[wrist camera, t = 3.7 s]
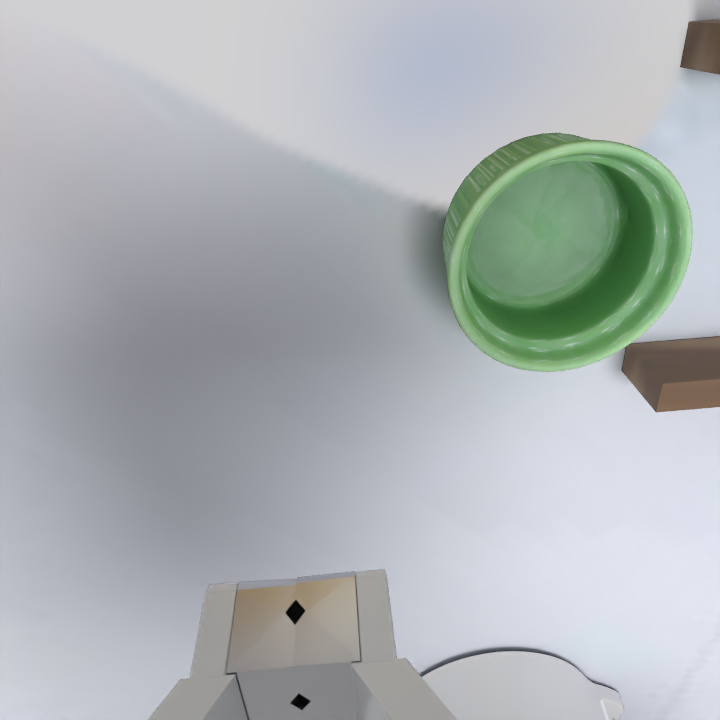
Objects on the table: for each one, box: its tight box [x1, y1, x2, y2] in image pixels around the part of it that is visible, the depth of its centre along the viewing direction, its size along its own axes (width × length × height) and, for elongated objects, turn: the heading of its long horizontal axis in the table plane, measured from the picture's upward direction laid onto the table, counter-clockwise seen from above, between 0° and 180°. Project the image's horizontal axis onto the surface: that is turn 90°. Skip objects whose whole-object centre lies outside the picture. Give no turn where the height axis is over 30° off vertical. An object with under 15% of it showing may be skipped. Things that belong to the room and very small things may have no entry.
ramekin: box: [443, 133, 693, 372], centre depth 24 cm, size 9×9×4 cm
